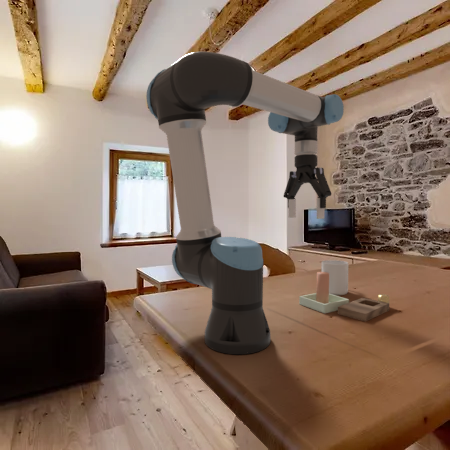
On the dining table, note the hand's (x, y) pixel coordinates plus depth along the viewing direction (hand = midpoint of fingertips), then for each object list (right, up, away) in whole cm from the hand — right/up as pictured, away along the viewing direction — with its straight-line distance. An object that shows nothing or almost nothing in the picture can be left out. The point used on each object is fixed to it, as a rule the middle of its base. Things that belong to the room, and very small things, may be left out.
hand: (305, 218), depth 110 cm
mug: (+12, -27, +5) cm, 30 cm away
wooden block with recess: (+12, -28, -18) cm, 36 cm away
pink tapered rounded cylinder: (+2, -27, -12) cm, 30 cm away
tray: (+2, -27, -12) cm, 30 cm away
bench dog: (+20, -27, -14) cm, 36 cm away
